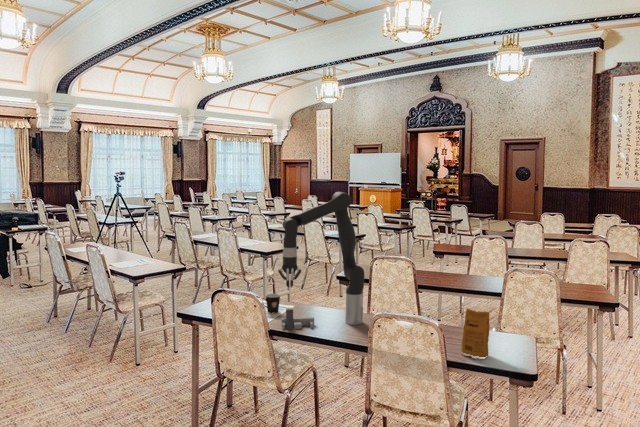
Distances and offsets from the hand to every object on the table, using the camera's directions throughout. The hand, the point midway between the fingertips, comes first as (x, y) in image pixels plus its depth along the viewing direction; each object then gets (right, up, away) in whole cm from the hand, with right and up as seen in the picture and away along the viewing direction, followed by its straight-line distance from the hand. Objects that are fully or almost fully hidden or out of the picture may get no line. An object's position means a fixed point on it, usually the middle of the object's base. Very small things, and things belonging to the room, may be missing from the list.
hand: (289, 286), depth 263 cm
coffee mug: (-14, -20, +32) cm, 41 cm away
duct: (+4, -23, +5) cm, 24 cm away
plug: (0, -23, +2) cm, 23 cm away
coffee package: (+90, -28, -33) cm, 100 cm away
